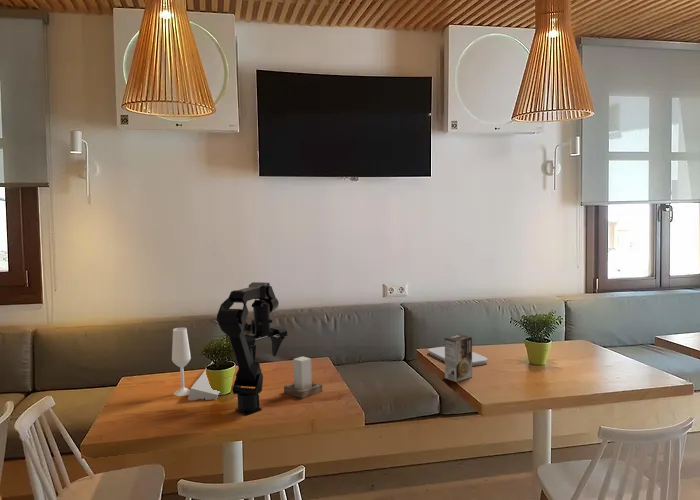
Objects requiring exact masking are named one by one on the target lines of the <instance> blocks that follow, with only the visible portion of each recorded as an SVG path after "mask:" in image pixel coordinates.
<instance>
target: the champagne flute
mask: <svg viewBox="0 0 700 500" xmlns="http://www.w3.org/2000/svg"><path fill="white" fill-rule="evenodd" d="M187 329H188V328H187V327H175V328H173V329H172V344H171V345H172V348H171V361H172V362H173V364H174V365H175V366H177V368H180V369H179V373H180V374H179V375H180V388H178V389H177V390H176V391H175V392H174V393H173V395H174V396H177V397H184V396H189V393H190V389H189V388H187V387H185V374H184V373H185V372H184V367H186V366H187V365H188V364H189V362H190V361H191V358H192V357H191V350H190V344H189V343H190V342H189V336H188V330H187Z"/></svg>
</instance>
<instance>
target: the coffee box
mask: <svg viewBox="0 0 700 500" xmlns="http://www.w3.org/2000/svg"><path fill="white" fill-rule="evenodd" d="M472 339H473V338H472V336H470V335H469V336H468V335H466V334H462V333H459V334H455V335H451V336H447V337H444V346H445V362H444V378H445V379H446V380H449V381H452V382H456V383H458V382H462V381H463V380H467V379H470V378H473V366H472V352H473V342H472V341H473V340H472Z"/></svg>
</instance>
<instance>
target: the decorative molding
mask: <svg viewBox="0 0 700 500" xmlns="http://www.w3.org/2000/svg"><path fill="white" fill-rule="evenodd" d="M212 363H213V361H211V363H210V364H212ZM235 366H236V368H238V365H235ZM189 390H190V393H189V395H188V397H187V400H188V401H197V400H205V401H212V400H215V401H217V399H218V397H219V396H218V395H220V394H221V392H220V391H217V390H213V389H212V388H211V386H210V384H209V381H208V378H207V375H206V369H205V370H204V371H203V373H202V374H201V375H200V376H199V377H198V379H197V380H196V381H195V382H194V384H193V385H192V386H191V387H190V389H189ZM219 393H220V394H219Z"/></svg>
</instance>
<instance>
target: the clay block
mask: <svg viewBox="0 0 700 500" xmlns="http://www.w3.org/2000/svg"><path fill="white" fill-rule="evenodd" d="M312 380H313V379H312V358H310V357H306V356H299V357H296V358H293V381H294V382H293V383H294V388H297V389H300V390H305V389H308V388H310V387H312V382H313V381H312Z"/></svg>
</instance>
